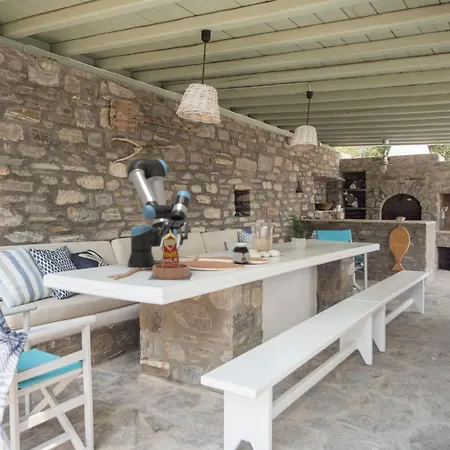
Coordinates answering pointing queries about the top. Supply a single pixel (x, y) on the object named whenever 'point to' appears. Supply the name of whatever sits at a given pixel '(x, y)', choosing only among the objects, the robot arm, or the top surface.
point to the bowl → (171, 272)
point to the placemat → (175, 279)
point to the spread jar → (240, 254)
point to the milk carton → (170, 253)
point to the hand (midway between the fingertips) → (169, 249)
